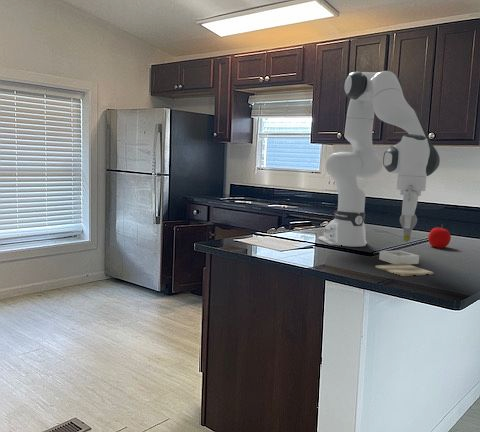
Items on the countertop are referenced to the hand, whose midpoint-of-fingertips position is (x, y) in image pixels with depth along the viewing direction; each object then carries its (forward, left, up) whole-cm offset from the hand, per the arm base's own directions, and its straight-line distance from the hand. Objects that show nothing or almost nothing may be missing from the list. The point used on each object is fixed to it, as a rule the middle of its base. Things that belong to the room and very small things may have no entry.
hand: (407, 226), depth 158 cm
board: (0, 0, -15) cm, 15 cm away
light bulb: (0, 0, -5) cm, 5 cm away
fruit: (-32, +48, -15) cm, 60 cm away
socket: (-12, +8, -15) cm, 21 cm away
